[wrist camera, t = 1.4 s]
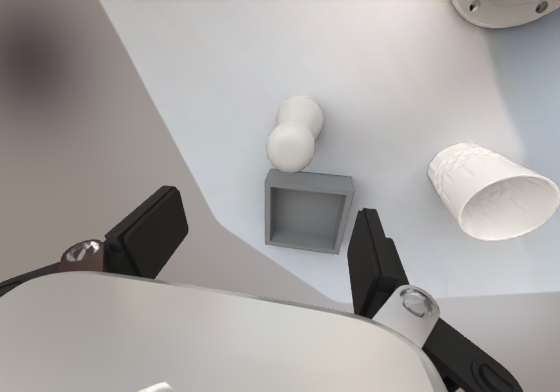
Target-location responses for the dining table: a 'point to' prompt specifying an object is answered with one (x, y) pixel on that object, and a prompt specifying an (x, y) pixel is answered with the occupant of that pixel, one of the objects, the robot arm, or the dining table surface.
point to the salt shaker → (294, 134)
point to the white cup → (491, 192)
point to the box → (306, 210)
